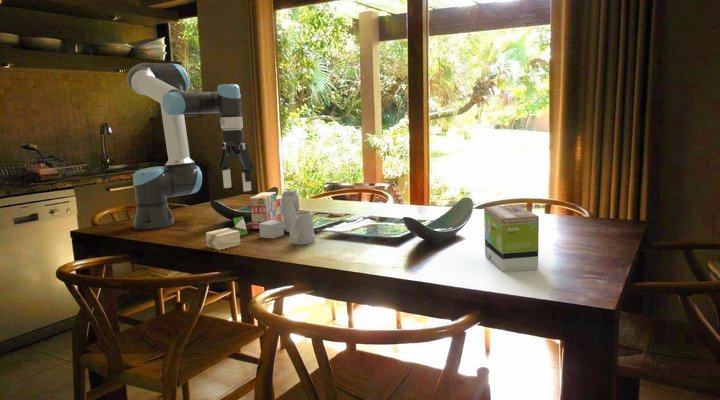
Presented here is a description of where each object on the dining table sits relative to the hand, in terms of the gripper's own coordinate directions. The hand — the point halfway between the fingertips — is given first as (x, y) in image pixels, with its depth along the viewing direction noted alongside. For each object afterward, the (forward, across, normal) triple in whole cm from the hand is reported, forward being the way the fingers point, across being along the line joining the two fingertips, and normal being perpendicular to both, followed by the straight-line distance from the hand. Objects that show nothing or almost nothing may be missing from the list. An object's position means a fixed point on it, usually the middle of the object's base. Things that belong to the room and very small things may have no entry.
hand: (237, 189), depth 185 cm
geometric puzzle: (+17, 0, 0) cm, 17 cm away
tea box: (+17, +92, +29) cm, 98 cm away
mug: (+17, +28, +6) cm, 33 cm away
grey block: (+17, +11, +6) cm, 21 cm away
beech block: (+17, +9, -12) cm, 23 cm away
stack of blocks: (+17, -8, +18) cm, 26 cm away
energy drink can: (+17, +11, +15) cm, 25 cm away
